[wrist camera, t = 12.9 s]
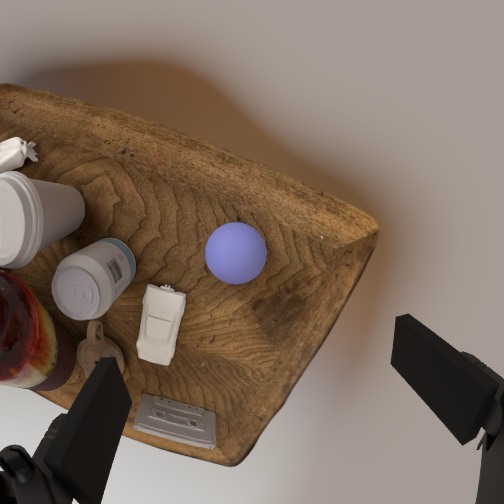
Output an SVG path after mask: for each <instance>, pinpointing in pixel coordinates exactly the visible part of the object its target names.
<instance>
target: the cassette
mask: <svg viewBox="0 0 504 504" xmlns="http://www.w3.org/2000/svg"><path fill="white" fill-rule="evenodd" d="M133 428H134V429H136V430H139V431H142V432H145V433H148V434H152V435H155V436H159V437H162V438H166V439H170V440H174V441H177V442H182V443H186V444H190V445H194V446H199V447H204V448H209V449H214V447H215V445H216V422H215V413H214V412H211V411H206V410H205V409H204V408H200V407H196V406H192V405H188V404H185V403H181V402H177V401H174V400H170V399H167V398H163V397H160V396H157V395H154V396H152V395H149V394H146V393H143V395H142V397H141V400H140V404H139V408H138V411H137V414H136V417H135V421H134V425H133Z"/></svg>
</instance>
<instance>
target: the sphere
mask: <svg viewBox="0 0 504 504" xmlns="http://www.w3.org/2000/svg"><path fill="white" fill-rule="evenodd" d="M266 256H267V249H266V245H265V241H264V239H263V238H262V236H261V235H260V233H259V232H258V231H257V230H255V229H254V228H253V227H252V226H249V225H247V224H244V223H237V222H232V223H228V224H224V225H222V226H221V227H219V228H218V229H216V230H215V231H214V232H213V233H212V235H211V236H210V237H209V239H208V242H207V244H206V247H205V259H206V262H207V266H208V268H209V269H210V271H211V272H212V273H213V275H214V276H216V277H217V278H218V279H220V280H221V281H224V282H226V283H229V284H242V283H246V282H249V281H250V280H252V279H254V278H255V277H256V276H257V275H258V274H259V273H260V272H261V271H262V269H263V267H264V264H265V262H266Z"/></svg>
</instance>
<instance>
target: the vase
mask: <svg viewBox="0 0 504 504" xmlns="http://www.w3.org/2000/svg"><path fill="white" fill-rule="evenodd" d="M74 364H75V349H74V345H73V342H72V339H71V337H70V335H69V334H68V332H67V331H66V330H65V328H64V327H63V326H62V325H61V324H60V323H59V322H58V321H57V319H56V318H55V317H54V316H53V315H52V314H51V313H50V312H49V311H48V310H47V308H46V307H45V306H44V305H43V304H42V303H41V302H40V301H39V299H38V298H37V297H36V296H35V295H34V294H33V292H32V291H31V290H30V289H29V288H28V287H27V286H26V284H25V283H24V282H23V281H22V280H20V279H19V278H18V277H17V276H15V275H14V274H12V273H10V272H8V271H5V270H0V384H2V385H7V386H13V387H18V388H24V389H30V390H37V391H50V390H54V389H57V388H59V387H61V386H62V385H63V384H64V383H66V381H67V380H68V379H69V377H70V376H71V374H72V371H73V369H74Z"/></svg>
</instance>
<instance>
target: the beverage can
mask: <svg viewBox="0 0 504 504" xmlns="http://www.w3.org/2000/svg"><path fill="white" fill-rule="evenodd" d="M135 272H136V262H135V258H134V255H133V253H132V251H131V250H130V248H129V247H128V246H127V245H126V244H125V243H123V242H122V241H120V240H118V239H115V238H104V239H101V240H99V241H97V242H95V243H93V244H91V245H89V246H87V247H85V248H83V249H81V250H79V251H77V252H75V253H73V254H71V255H69V256H68V257H66V258H64V259H63V260H62V261H61V262H60V264H59V265H58V267H57V269H56V272H55V275H54V277H53V280H52V294H53V298H54V301H55V303H56V304H57V306H58V308H59V309H60V310H61V311H62V312H63V313H64V314H65V315H67V316H68V317H70V318H72V319H75V320H90V319H95V318H98V317H100V316H102V315H103V314H104V313H105V312H106V311H107V310H108V309H109V307H110V306H111V305H112V304H113V303H114V302H115V300H116V299H117V298H118V297H119V296H120V294H121V293H122V292H123V291H124V290H125V289H126V287H127V286H128V285H129V284H130V283H131V281H132V280H133V278H134V276H135Z"/></svg>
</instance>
